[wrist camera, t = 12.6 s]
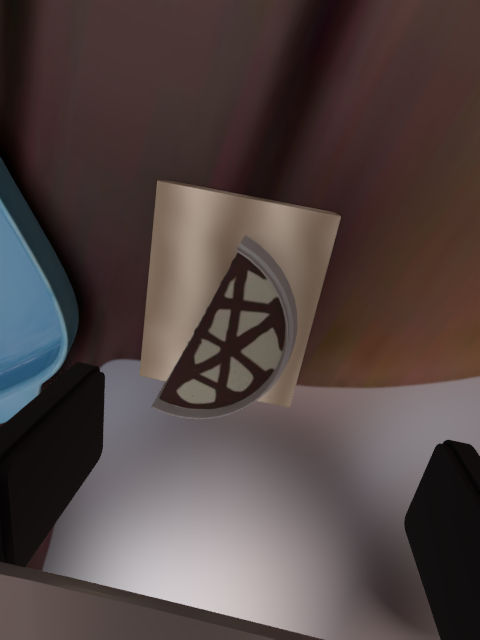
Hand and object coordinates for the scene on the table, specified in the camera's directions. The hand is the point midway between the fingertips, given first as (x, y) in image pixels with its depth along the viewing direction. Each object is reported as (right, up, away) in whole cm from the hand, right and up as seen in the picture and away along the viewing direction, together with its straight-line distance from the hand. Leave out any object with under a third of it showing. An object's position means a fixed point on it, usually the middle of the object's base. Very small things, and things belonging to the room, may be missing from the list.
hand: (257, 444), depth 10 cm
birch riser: (-1, +6, +24) cm, 25 cm away
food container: (0, +5, +21) cm, 21 cm away
